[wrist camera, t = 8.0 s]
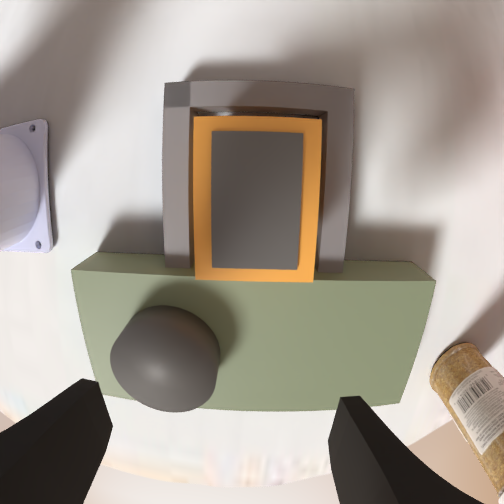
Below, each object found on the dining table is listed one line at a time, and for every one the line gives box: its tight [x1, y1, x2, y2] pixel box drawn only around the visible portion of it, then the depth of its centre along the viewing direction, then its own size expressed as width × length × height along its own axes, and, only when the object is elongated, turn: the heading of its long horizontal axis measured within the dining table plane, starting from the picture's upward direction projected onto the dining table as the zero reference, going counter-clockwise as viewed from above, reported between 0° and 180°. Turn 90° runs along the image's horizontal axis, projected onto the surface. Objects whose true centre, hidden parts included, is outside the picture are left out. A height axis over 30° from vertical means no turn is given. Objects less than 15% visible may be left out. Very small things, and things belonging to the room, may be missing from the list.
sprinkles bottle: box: [430, 343, 504, 504], centre depth 13 cm, size 5×5×13 cm
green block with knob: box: [71, 80, 436, 412], centre depth 14 cm, size 18×17×5 cm
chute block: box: [193, 116, 322, 282], centre depth 13 cm, size 4×5×6 cm
